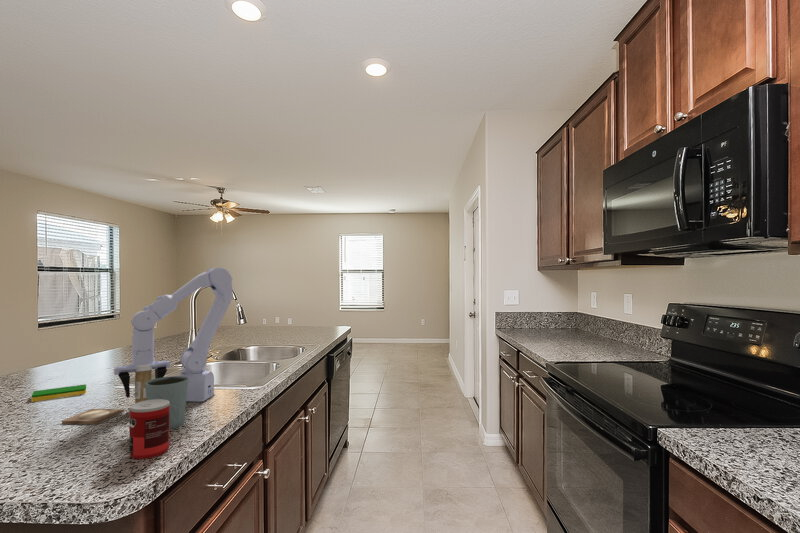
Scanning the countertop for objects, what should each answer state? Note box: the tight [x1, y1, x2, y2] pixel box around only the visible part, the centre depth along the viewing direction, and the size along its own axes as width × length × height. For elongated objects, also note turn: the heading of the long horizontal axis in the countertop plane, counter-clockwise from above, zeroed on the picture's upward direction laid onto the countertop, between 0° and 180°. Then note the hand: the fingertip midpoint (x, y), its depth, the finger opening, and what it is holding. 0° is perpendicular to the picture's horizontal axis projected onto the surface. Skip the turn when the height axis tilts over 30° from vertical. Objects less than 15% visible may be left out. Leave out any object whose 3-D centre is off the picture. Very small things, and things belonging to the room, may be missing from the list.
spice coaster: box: [61, 408, 125, 425], centre depth 115 cm, size 10×10×1 cm
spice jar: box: [134, 364, 153, 404], centre depth 124 cm, size 5×5×14 cm
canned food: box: [128, 399, 170, 460], centre depth 92 cm, size 8×8×11 cm
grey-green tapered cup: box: [145, 375, 188, 430], centre depth 110 cm, size 10×10×12 cm
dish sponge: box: [31, 384, 87, 403], centre depth 136 cm, size 7×14×2 cm, turn 127°
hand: (142, 394), depth 124 cm, fingers open, 7 cm apart
